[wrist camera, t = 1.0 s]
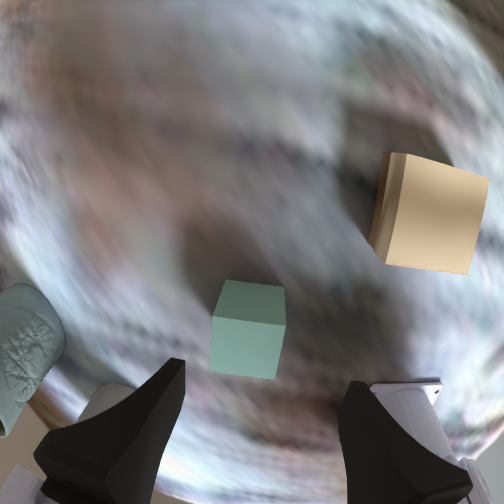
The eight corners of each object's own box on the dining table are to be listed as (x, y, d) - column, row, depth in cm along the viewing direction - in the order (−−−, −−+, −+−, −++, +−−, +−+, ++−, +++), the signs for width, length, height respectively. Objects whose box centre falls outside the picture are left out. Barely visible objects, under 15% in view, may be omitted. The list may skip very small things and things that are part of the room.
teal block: (275, 334, 22) (274, 379, 17) (221, 327, 22) (209, 370, 18) (284, 286, 21) (286, 326, 16) (226, 279, 21) (212, 316, 16)
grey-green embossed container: (-4, 309, 25) (-72, 364, 13) (19, 252, 22) (-76, 310, 11) (54, 375, 26) (-1, 446, 15) (89, 334, 24) (15, 425, 12)
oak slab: (449, 261, 17) (466, 275, 15) (373, 250, 18) (385, 264, 15) (469, 174, 15) (489, 179, 13) (391, 152, 16) (406, 153, 13)
